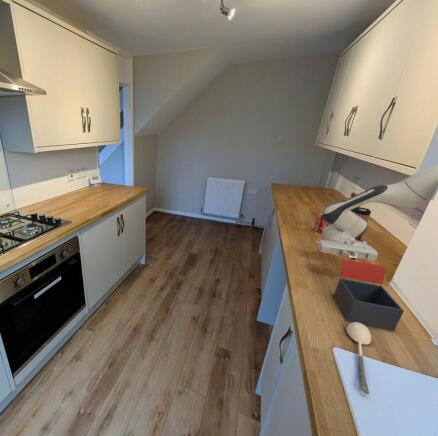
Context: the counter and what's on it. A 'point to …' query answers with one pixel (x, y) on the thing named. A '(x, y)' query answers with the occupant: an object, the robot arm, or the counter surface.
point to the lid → (363, 271)
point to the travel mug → (362, 214)
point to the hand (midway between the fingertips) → (353, 258)
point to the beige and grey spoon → (360, 346)
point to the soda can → (320, 223)
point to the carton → (367, 304)
